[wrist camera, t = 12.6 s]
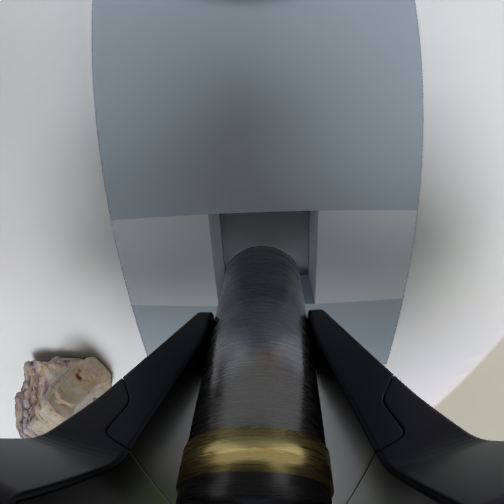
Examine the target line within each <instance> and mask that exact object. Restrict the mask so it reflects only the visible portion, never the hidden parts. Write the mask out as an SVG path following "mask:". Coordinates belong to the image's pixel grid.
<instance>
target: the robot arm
mask: <svg viewBox="0 0 504 504" xmlns="http://www.w3.org/2000/svg"><path fill="white" fill-rule="evenodd" d="M214 320H215V319H214V315H213V313H212V312H198V313H197V314H196V315H195V316H193V317H192V318H191V319H190V320H189V321H188V322H187V323H185V324H184V325H183V326H182V327H181V328H180V329H178V330H177V331H176V332H175V333H174V334H173V335H172V336H170V337H169V338H168V339H167V340H166V341H165V342H163V343H162V344H161V345H160V346H159V347H158V348H156V349H155V350H154V351H153V352H152V353H151V354H150V355H148V356H147V357H146V358H145V359H144V360H143V361H141V362H140V363H139V364H138V365H137V366H136V367H134V368H133V369H132V370H131V371H130V372H129V373H127V374H126V375H125V376H124V377H123V379H124V380H123V379H120V380H119V381H118V382H117V383H116V384H114V385H113V386H112V387H111V388H110V389H108V390H107V391H106V392H105V393H103V394H102V395H101V396H100V397H98V398H97V399H96V400H94V401H93V402H91V403H90V404H89V405H87V406H86V407H84V408H83V409H82V410H80V411H79V412H77V413H76V414H74V415H73V416H71V417H70V418H68V419H67V420H65V421H64V422H62V423H61V424H59V425H58V426H56V427H55V428H53V429H52V430H50V431H48V432H47V433H45V434H42V435H40V436H37V437H33V438H23V439H0V504H176V500H177V495H178V493H177V491H176V484H177V479H178V474H179V470H180V465H181V460H182V455H183V451H184V447H185V446H186V444H187V443H188V440H189V435H190V430H191V425H192V420H193V415H194V411H195V406H196V401H197V397H198V392H199V387H200V383H201V378H202V373H203V369H204V364H205V360H206V355H207V351H208V346H209V342H210V337H211V333H212V328H213V324H214ZM307 320H308V326H309V332H310V338H311V344H312V351H313V357H314V363H315V370H316V376H317V383H318V390H319V397H320V404H321V411H322V419H323V427H324V434H325V442H326V447H327V448H328V450H329V453H330V461H331V469H332V477H333V486H334V495H333V497H332V500H333V504H504V441H489V440H484V439H480V438H477V437H475V436H473V435H471V434H469V433H467V432H466V431H464V430H463V429H462V428H460V427H459V426H457V425H456V424H454V423H453V422H452V421H450V420H449V419H448V418H446V417H445V416H444V415H442V414H441V413H439V412H438V411H437V410H435V409H434V408H433V407H431V406H430V405H429V404H427V403H426V402H425V401H423V400H422V399H421V398H420V397H418V396H417V395H416V394H415V393H413V392H412V391H411V390H410V389H409V388H408V387H407V386H405V385H404V384H403V383H402V382H401V381H400V380H399V379H398V378H397V377H396V376H393V374H392V373H391V372H390V371H389V370H388V369H387V368H386V367H385V366H384V365H383V364H381V363H380V362H379V361H378V360H377V359H376V358H375V357H374V356H373V355H372V354H371V353H370V352H369V351H367V350H366V349H365V348H364V347H363V346H362V345H361V344H360V343H359V342H358V341H357V340H356V339H354V338H353V337H352V336H351V335H350V334H349V333H348V332H347V331H346V330H345V329H344V328H343V327H341V326H340V325H339V324H338V323H337V322H336V321H335V320H334V319H333V318H332V317H331V316H330V315H328V314H327V313H326V312H325V311H324V310H322V309H316V310H309V311H308V315H307Z"/></svg>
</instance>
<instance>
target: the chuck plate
mask: <svg viewBox="0 0 504 504" xmlns="http://www.w3.org/2000/svg"><path fill="white" fill-rule="evenodd" d="M92 70H93V89H94V103H95V114H96V125H97V134H98V142H99V150H100V158H101V165H102V172H103V178H104V184H105V190H106V196H107V202H108V207H109V212H110V218H111V223H112V227H113V232H114V237H115V241H116V246H117V250H118V255H119V259H120V263H121V267H122V271H123V275H124V279H125V283H126V287H127V290H128V294H129V298H130V301H131V305H132V308H133V312H134V315H135V319H136V322H137V325H138V329H139V332H140V335H141V338H142V341H143V344H144V347H145V350H146V353H147V356H148V355H150V354H151V353H152V352H153V351H154V350H155V349H156V348H158V347H159V346H160V345H161V344H162V343H163V342H165V341H166V340H167V339H168V338H169V337H170V336H172V335H173V334H174V333H175V332H176V331H177V330H178V329H180V328H181V327H182V326H183V325H184V324H185V323H187V322H188V321H189V320H190V319H191V318H192V317H193V316H195V315H196V314H197V313H198V312H212V313H213V315H214V319H215V315H216V311H217V307H218V302H219V298H220V294H221V289H222V285H223V281H224V276H225V268H224V258H223V248H222V238H221V227H220V216H219V214H225V213H250V212H281V211H310V230H309V271H308V274H307V275H300V279H301V285H302V290H303V296H304V302H305V308H306V313H307V315H308V311H309V310H316V309H322V310H324V311H325V312H326V313H327V314H328V315H330V316H331V317H332V318H333V319H334V320H335V321H336V322H337V323H338V324H339V325H340V326H341V327H343V328H344V329H345V330H346V331H347V332H348V333H349V334H350V335H351V336H352V337H353V338H354V339H356V340H357V341H358V342H359V343H360V344H361V345H362V346H363V347H364V348H365V349H366V350H367V351H369V352H370V353H371V354H372V355H373V356H374V357H375V358H376V359H377V360H378V361H379V362H380V363H381V364H387V360H388V357H389V353H390V350H391V346H392V342H393V339H394V335H395V331H396V327H397V323H398V319H399V314H400V310H401V306H402V301H403V297H404V292H405V287H406V282H407V277H408V271H409V266H410V260H411V254H412V248H413V241H414V234H415V227H416V219H417V211H418V202H419V192H420V180H421V167H422V148H423V78H422V60H421V47H420V36H419V27H418V19H417V11H416V4H415V0H92Z"/></svg>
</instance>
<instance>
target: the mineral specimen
mask: <svg viewBox="0 0 504 504" xmlns="http://www.w3.org/2000/svg"><path fill="white" fill-rule="evenodd" d="M24 376H25V381H24V382H23V386H22V388H21V392H18V393H16V396H15V402H16V404H15V415H16V428H17V430H18V431H19V434H20V437H21V438H33V437H37V436H40V435H42V434H45V433H47V432H48V431H50V430H52V429H53V428H55V427H56V426H58V425H59V424H61V423H62V422H64V421H65V420H67V419H68V418H70V417H71V416H73V415H74V414H76V413H77V412H79V411H80V410H82V409H83V408H84V407H86V406H87V405H89V404H90V403H91V402H93V401H94V400H96V399H97V398H98V397H100V396H101V395H102V394H103V393H105V392H106V391H107V390H108V389H110V388H111V373H110V372H109V371H108V370H107V368H106V367H105V366H104V365H103V364H102V363H101V362H100V361H99V360H98V359H97V358H95V357H88V358H86V359H79V358H63V357H59V356H56V357H54V358H52V359H51V360H50V361H48V362H40V361H36V360H33V361H32V362H30V361H28V362H25V364H24Z"/></svg>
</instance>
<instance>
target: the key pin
mask: <svg viewBox="0 0 504 504" xmlns="http://www.w3.org/2000/svg"><path fill="white" fill-rule="evenodd" d="M176 491H177V493H178V495H177V500H176V504H332V497H333V495H334V486H333V477H332V469H331V461H330V453H329V450H328V448H327V447H326V442H325V434H324V427H323V419H322V411H321V404H320V397H319V390H318V383H317V376H316V370H315V363H314V357H313V351H312V344H311V338H310V332H309V326H308V320H307V313H306V308H305V302H304V296H303V290H302V285H301V279H300V274H299V270H298V267H297V265H296V264H295V262H294V261H293V259H292V258H291V257H290V256H289V255H287V254H286V253H284V252H283V251H281V250H278V249H276V248H272V247H267V246H258V247H252V248H249V249H246V250H244V251H242V252H240V253H239V254H237V255H236V256H235V257H234V258H233V259H232V260H231V261H230V263H229V264H228V267H227V269H226V272H225V276H224V281H223V285H222V289H221V294H220V298H219V302H218V307H217V311H216V315H215V320H214V324H213V328H212V333H211V337H210V342H209V346H208V351H207V355H206V360H205V364H204V369H203V373H202V378H201V383H200V387H199V392H198V397H197V401H196V406H195V411H194V415H193V420H192V425H191V430H190V435H189V440H188V443H187V444H186V446H185V447H184V451H183V455H182V460H181V465H180V470H179V474H178V479H177V484H176Z"/></svg>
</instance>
